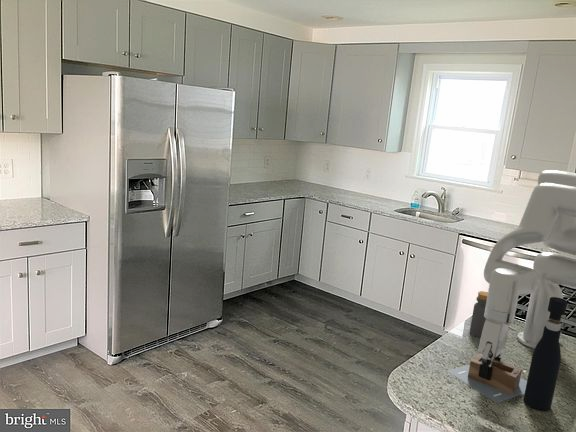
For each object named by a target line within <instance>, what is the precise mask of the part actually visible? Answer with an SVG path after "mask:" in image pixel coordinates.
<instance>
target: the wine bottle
mask: <svg viewBox="0 0 576 432" xmlns="http://www.w3.org/2000/svg"><path fill="white" fill-rule="evenodd" d="M567 306H568V301H567V300H566V299H564V298H563V299H562V298H557V297H551V298H550V300H549V305H548V311H549V312H550V316H549V319H548V320H547V322H546V323H547V324H546V326H545V327H544V331H543V336H542V338H541V339H540V341H539V342H538V344H537V345H536V347H535V349H533V352H532V356H531V359H530V365H529V369H528V374H527V375H528V376H527V379H526V381H527V384H526V389H525V394H523V403H524V404H525V405H526V407H529V408H530V409H532V410H534V411H537V412H538V411H539V412H549V411H551V409H552V404H553V400H554V394H555V391H556V390H555V389H556V385H557V381H558V376H559V372H560V367H561V363H562V361H561V360H562V352H561V345H560V336H561V335H562V331H561V327H562V322H561V320H562V316H565V315H566V311H567ZM560 334H561V335H560Z"/></svg>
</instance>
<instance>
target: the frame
mask: <svg viewBox="0 0 576 432" xmlns="http://www.w3.org/2000/svg"><path fill="white" fill-rule="evenodd" d="M482 355H483V353H479V352H477V354H475V356H474V357H473V358H472V359H471V360H470V362H469V365H470V367H469V372H468V377H469V378H471V379H474V380H476V381H479V382H482V383H484V384H487V385H489V386H492V387H494V388H497V389H499V390H502V391H504V392H507V393H510V394H512V395H513V393H514V392H515V390H516V389H517V387H518V386H519V382H520V378H522V377H521V376H522V372H523V368H520V367H518V366H515V365H513V364H509V363H506V362H504V361H498V360H496V359H494V361H493V364H492V367H493V370H492V376H491V380H486V379H484V378H481V377H479V376H478V375H479V369H480V364H481V359H482ZM488 359H489V360H491V358H490V357H488Z"/></svg>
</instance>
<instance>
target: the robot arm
mask: <svg viewBox="0 0 576 432" xmlns="http://www.w3.org/2000/svg"><path fill="white" fill-rule="evenodd" d="M537 243H543V246H545V247H546V248H548V249H549V250H553V251H556V252H560V253H556V252H552V251H551V252H550V251H543V252H540V253H538V254H537V255H536V256H535V258H534V261H533V266H532V268H531V267H528V266H524V265H520V264H517V263H513V262H510V261H506V260H503V258H504V257H505V255H506V254H507V253H508V252H510V251H511V250H513V249H514V248H516V247H520V246H523V245H524V246H525V245H531V244H537ZM561 253H564V254H561ZM565 254H568V255H565ZM569 255H573V256H576V172H571V171H564V170H557V169H556V170H555V169H549V170H542V171H541V172H540V173H539V175H538V177H537V185H536V186H534V189H533V190H532V192H531V195H530V197H529V199H528V202H527V204H526V208H525V210H524V213H523V214H522V217H521V220H520V223H519V225H518V226H517V228H515V229H513V230H511V231H510V232H508V233H506V234H505V235H504V236H503V237H501V238H500V239H499V240H498V241H497V242H496V243H495V244H494V245H493V247H492V248H491V251H490V253H489V256H488V258H487V260H486V263H485V265H484V269H483V277H484V278H483V279H484V281H486V283H488V284H489V285H488V286H489V287H488V291H487V292H488V296H487V302H486V307H485V313H484V317H485V318H486V321H485V324H484V327H483V331H482V335H481V338H479V339H480V340H479V344H478V348H477V353H479V354H482V359H481V364H480V369H479V375H478V376H479V377H481V378H484V379H486V380H491V376H492V370H493V367H492V364H493V361H494V359H496V360H498V361H501V360H502V352H503V351H504V349H505V347H506V344H507V342H508V335H509V330H510V325H513V324H514V323H515V322H514V321H515V317H516V310H517V306H518V300H519V296H525V295H530V297H529V301H528V302H529V303H528V307H527V312H526V317H525V323H524V328H523V331H519V333H517V336H516V339H517V341H518V342H519V343H521V344H522V345H524V346H526V347H529V348H531V349H533V350H534V349H535V347H536V345H537V344H538V342H539V341H540V339H541V338H542V336H543V331H544V327H545V326H546V324H547V323H546V322H547V320H548V319H549V316H550V312H549V311H548V305H549V300H550V298H551V297H557V298H562V299H564V294H563V292H562V289H561V287H560V286H559V285H561V286H563V287H567V288H570V289H575V290H576V257H572V256H569ZM561 335H562V333H561V334H560V336H561ZM488 357H490V358H491V360H489V359H488ZM501 362H502V361H501Z"/></svg>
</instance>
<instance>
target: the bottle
mask: <svg viewBox="0 0 576 432" xmlns="http://www.w3.org/2000/svg"><path fill="white" fill-rule="evenodd" d="M477 294H478V295H477V296H476V298H475V299H476V301H477V302H475V303H474V305H473V311H472V316H471V320H470V321H471V322H470V327H469V328H470V329H469V334H470V335H471V336H472V337H475V338H477V339H478V338H479V339H481V335H482V331H483V327H484V324H485V321H486V318H485V317H484V313H485V307H486V302H487V296H488V291H483V290H481V291H478V293H477Z"/></svg>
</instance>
